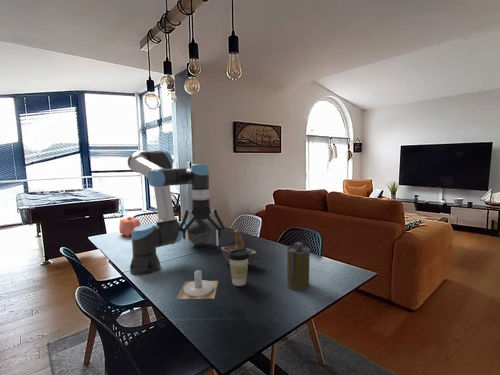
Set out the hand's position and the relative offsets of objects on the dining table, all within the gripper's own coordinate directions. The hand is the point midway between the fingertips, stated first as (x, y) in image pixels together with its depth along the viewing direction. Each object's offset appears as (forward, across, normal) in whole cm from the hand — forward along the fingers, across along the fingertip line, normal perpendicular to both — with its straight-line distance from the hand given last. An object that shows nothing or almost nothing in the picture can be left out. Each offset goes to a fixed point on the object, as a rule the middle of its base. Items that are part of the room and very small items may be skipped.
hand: (202, 245), depth 119 cm
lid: (+19, -2, -3) cm, 19 cm away
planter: (+20, +18, +23) cm, 35 cm away
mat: (+20, -2, -3) cm, 20 cm away
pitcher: (+19, -8, +58) cm, 62 cm away
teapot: (+19, -63, +92) cm, 113 cm away
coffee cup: (+20, +16, +1) cm, 26 cm away
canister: (+20, +43, -4) cm, 48 cm away
